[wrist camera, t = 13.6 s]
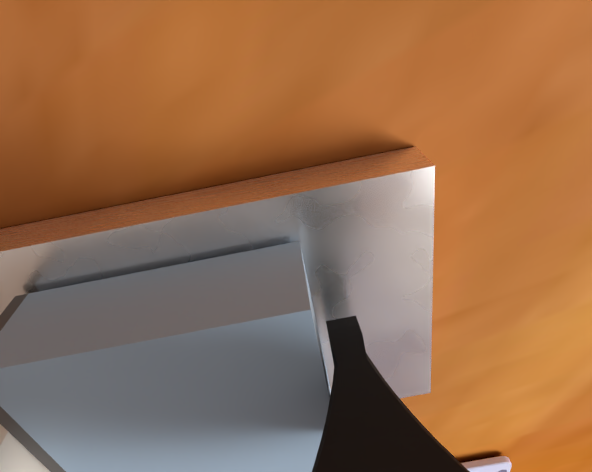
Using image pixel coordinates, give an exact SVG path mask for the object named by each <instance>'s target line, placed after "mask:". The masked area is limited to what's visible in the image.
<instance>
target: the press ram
mask: <svg viewBox="0 0 592 472" xmlns="http://www.w3.org/2000/svg"><path fill="white" fill-rule="evenodd" d="M330 395H331V389H330V384H329V379H328V375H327V370H326V365H325V360H324V355H323V351H322V346H321V341H320V336H319V331H318V327H317V322H316V317H315V312H314V308H313V303H312V298H311V293H310V288H309V284H308V279H307V274H306V269H305V264H304V260H303V255H302V250H301V245H300V241H297V242H292V243H287V244H281V245H276V246H271V247H266V248H261V249H256V250H250V251H245V252H240V253H235V254H230V255H225V256H219V257H214V258H209V259H204V260H199V261H194V262H189V263H183V264H178V265H173V266H168V267H163V268H158V269H152V270H147V271H142V272H137V273H132V274H127V275H122V276H116V277H111V278H106V279H101V280H96V281H91V282H85V283H80V284H75V285H70V286H65V287H60V288H54V289H49V290H44V291H39V292H34V293H29V294H24V295H18V296H15V297H14V298H13V299H12V301H11V302H10V303H9V305H8V306H7V307H6V308H5V310H4V311H3V312H2V314H1V315H0V424H1V425H2V426H3V427H4V428H5V429H6V430H7V431H9V433H10V434H11V435H12V436H13V437H14V438H16V439H17V440H18V441H19V442H20V443H21V444H22V445H23V446H24V447H25V448H26V449H27V450H28V451H29V452H30V453H31V454H32V455H33V456H34V457H35V458H36V459H37V460H39V461H40V462H41V463H42V464H43V465H44V466H45V467H46V468H47V469H48V470H49V471H50V472H312V469H313V466H314V463H315V459H316V456H317V452H318V449H319V445H320V442H321V438H322V434H323V429H324V425H325V421H326V416H327V411H328V406H329V401H330Z"/></svg>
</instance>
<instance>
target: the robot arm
mask: <svg viewBox="0 0 592 472" xmlns="http://www.w3.org/2000/svg"><path fill="white" fill-rule="evenodd" d="M326 325H327V330H328V336H329V341H330V346H331V352H332V357H333V363H334V374H333V382H332V389H331V395H330V401H329V406H328V411H327V416H326V421H325V425H324V429H323V434H322V438H321V442H320V445H319V449H318V452H317V456H316V459H315V463H314V466H313V469H312V472H510V469H511V465H512V464H511V462H510V460H509V458H508V457H506V456H498V457H492V458H486V459H481V460H475V461H469V462H464V463H460V462H459V461H458V460H457V459H456V458H455V457H454V456H453V455H452V454H451V453H450V452H449V451H448V450H447V449H446V448H445V447H443V446H442V445H441V444H440V443H439V442H438V441H437V440H436V439H435V438H434V437H433V436H432V434H431V433H430V432H429V431H428V430H427V429H426V428H425V427H424V426H423V425H422V424H421V423H420V422H419V421H418V419H417V418H416V417H415V416H414V415H413V414H412V413H411V412H410V410H409V409H408V408H407V407H406V406H405V405H404V403H403V402H402V401H401V400H400V399H399V397H398V396H397V395H396V394H395V392H394V391H393V390H392V388H391V387H390V386H389V385H388V383H387V382H386V381H385V379H384V378H383V377H382V375H381V374H380V372H379V371H378V370H377V368H376V367H375V365H374V364H373V362H372V361H371V359H370V358H369V356H368V355H367V353H366V350H365V345H364V340H363V334H362V331H361V328H360V325H359V323H358V320H357V317H356V316H351V317H345V318H340V319H335V320H329V321H326Z"/></svg>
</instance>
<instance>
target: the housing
mask: <svg viewBox="0 0 592 472" xmlns="http://www.w3.org/2000/svg"><path fill="white" fill-rule="evenodd" d="M0 472H50V471H49V470H48V469H47V468H46V467H45V466H44V465H43V464H42V463H41V462H40V461H39V460H37V459H36V458H35V457H34V456H33V455H32V454H31V453H30V452H29V451H28V450H27V449H26V448H25V447H24V446H23V445H22V444H21V443H20V442H19V441H18V440H17V439H16V438H14V437H13V436H12V435H11V434H10V433H9V431H7V430H6V429H5V428H4V427H3V426H2V425H1V424H0Z"/></svg>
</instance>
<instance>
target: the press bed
mask: <svg viewBox="0 0 592 472" xmlns="http://www.w3.org/2000/svg"><path fill="white" fill-rule="evenodd" d="M434 186H435V165H434V164H433V163H432V162H431V161H430V160H429V159H428V158H427V157H426V156H425V155H424V154H423V153H422V152H421V151H420V150H419V149H418V148H417V147H416V146H415V147H410V148H405V149H400V150H395V151H390V152H385V153H380V154H375V155H370V156H365V157H360V158H355V159H350V160H345V161H340V162H335V163H330V164H325V165H320V166H315V167H310V168H305V169H300V170H295V171H289V172H284V173H279V174H274V175H269V176H264V177H259V178H254V179H249V180H244V181H239V182H234V183H229V184H224V185H219V186H214V187H209V188H204V189H199V190H194V191H189V192H184V193H179V194H174V195H169V196H164V197H159V198H154V199H149V200H144V201H139V202H134V203H129V204H124V205H119V206H114V207H109V208H104V209H99V210H94V211H89V212H84V213H78V214H73V215H68V216H63V217H58V218H53V219H48V220H43V221H38V222H33V223H28V224H23V225H18V226H13V227H8V228H3V229H0V315H1V314H2V312H3V311H4V310H5V308H6V307H7V306H8V305H9V303H10V302H11V301H12V299H13V298H14V297H15V296H18V295H24V294H29V293H34V292H39V291H44V290H49V289H54V288H60V287H65V286H70V285H75V284H80V283H85V282H91V281H96V280H101V279H106V278H111V277H116V276H122V275H127V274H132V273H137V272H142V271H147V270H152V269H158V268H163V267H168V266H173V265H178V264H183V263H189V262H194V261H199V260H204V259H209V258H214V257H219V256H225V255H230V254H235V253H240V252H245V251H250V250H256V249H261V248H266V247H271V246H276V245H281V244H287V243H292V242H297V241H300V245H301V250H302V255H303V260H304V264H305V269H306V274H307V279H308V284H309V288H310V293H311V298H312V303H313V308H314V312H315V317H316V322H317V327H318V331H319V336H320V341H321V346H322V351H323V355H324V360H325V365H326V370H327V375H328V379H329V384H330V389H332V382H333V374H334V363H333V357H332V352H331V346H330V341H329V336H328V330H327V325H326V321H329V320H335V319H340V318H345V317H351V316H356V317H357V320H358V323H359V325H360V328H361V331H362V334H363V340H364V345H365V350H366V353H367V355H368V356H369V358H370V359H371V361H372V362H373V364H374V365H375V367H376V368H377V370H378V371H379V372H380V374H381V375H382V377H383V378H384V379H385V381H386V382H387V383H388V385H389V386H390V387H391V388H392V390H393V391H394V392H395V394H396V395H397V396H398V397H399V398H404V397H410V396H415V395H421V394H426V393H430V390H431V339H432V288H433V237H434Z"/></svg>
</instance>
